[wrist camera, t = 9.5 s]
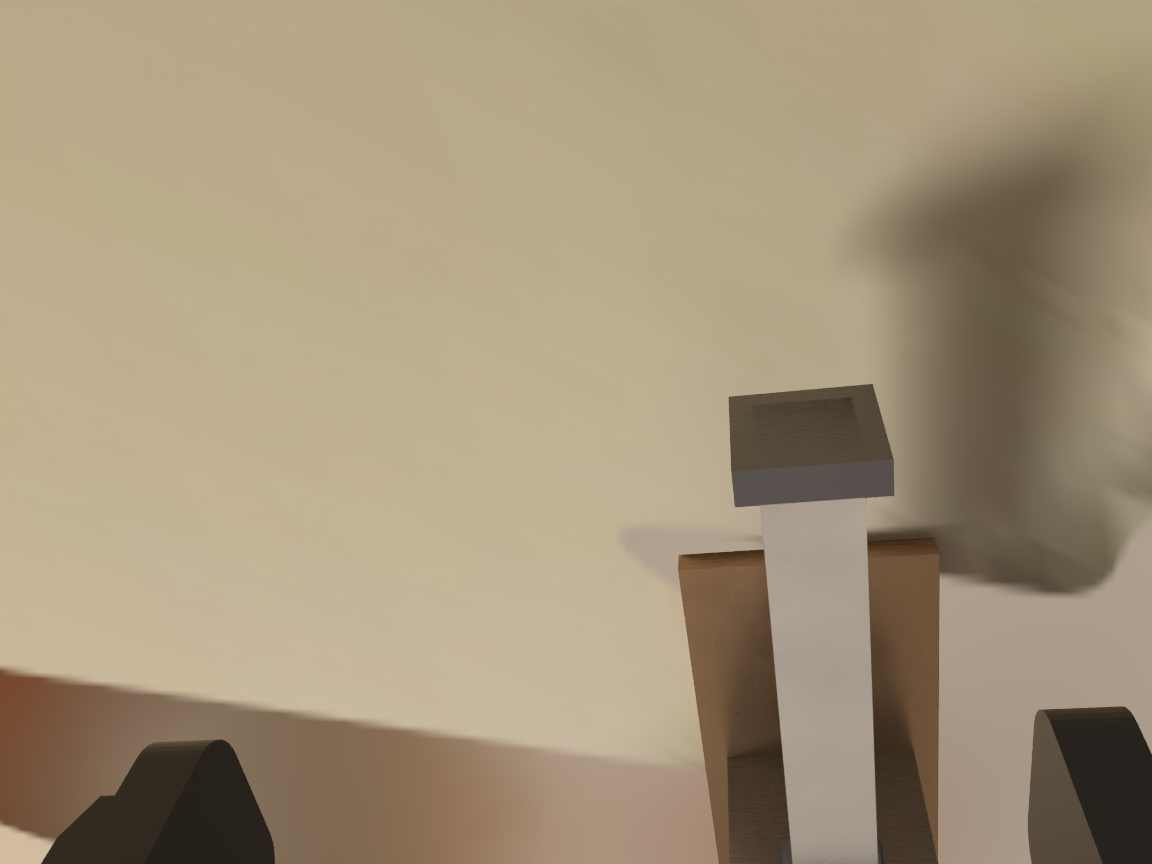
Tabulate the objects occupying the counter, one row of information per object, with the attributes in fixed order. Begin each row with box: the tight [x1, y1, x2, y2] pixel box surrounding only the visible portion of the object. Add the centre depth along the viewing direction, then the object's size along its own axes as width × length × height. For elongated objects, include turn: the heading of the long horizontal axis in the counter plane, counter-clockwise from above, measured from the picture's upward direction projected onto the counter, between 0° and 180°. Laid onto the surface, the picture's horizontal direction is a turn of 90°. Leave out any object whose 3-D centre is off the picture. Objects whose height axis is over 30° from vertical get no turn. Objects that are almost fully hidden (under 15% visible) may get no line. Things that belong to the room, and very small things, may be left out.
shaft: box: [729, 384, 894, 864], centre depth 38 cm, size 4×24×4 cm, turn 9°
